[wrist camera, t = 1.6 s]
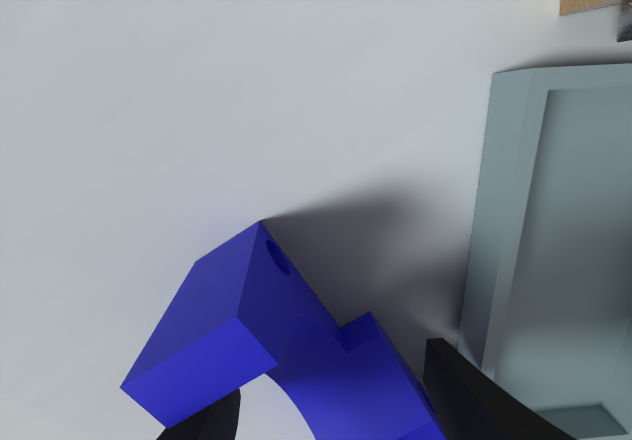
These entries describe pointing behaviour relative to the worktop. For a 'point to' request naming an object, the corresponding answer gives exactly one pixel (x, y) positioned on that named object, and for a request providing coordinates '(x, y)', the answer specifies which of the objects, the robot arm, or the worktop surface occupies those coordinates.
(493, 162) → the grey-blue rectangular tray
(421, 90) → the worktop surface
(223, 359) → the blue bearing cap
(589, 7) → the shaft
